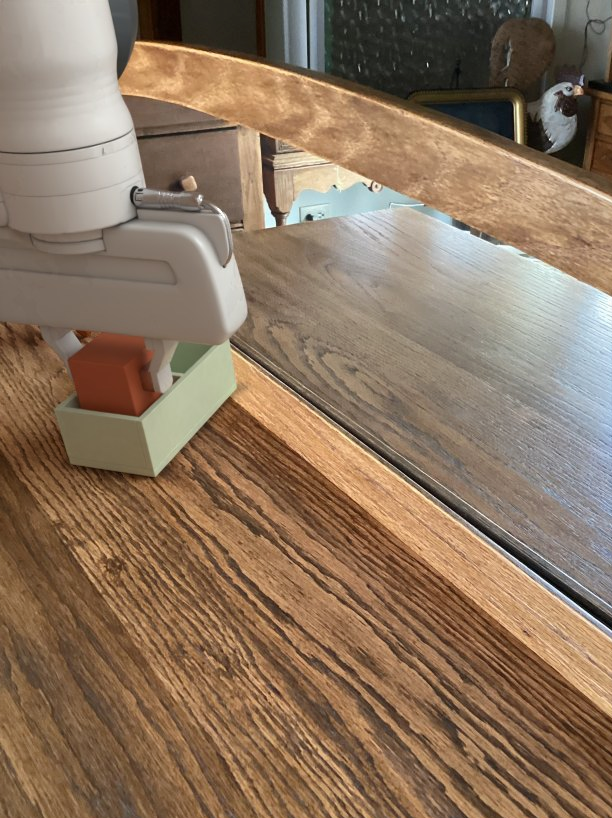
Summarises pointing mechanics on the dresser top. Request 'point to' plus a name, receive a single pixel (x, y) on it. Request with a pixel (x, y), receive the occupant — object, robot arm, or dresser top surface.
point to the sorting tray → (151, 416)
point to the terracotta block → (112, 375)
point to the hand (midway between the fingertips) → (121, 384)
